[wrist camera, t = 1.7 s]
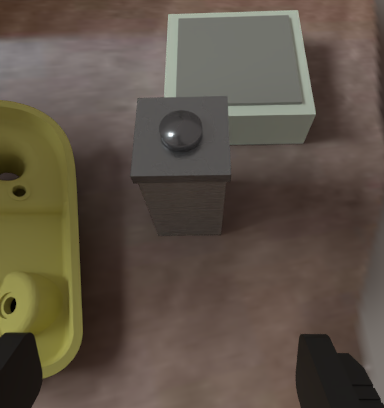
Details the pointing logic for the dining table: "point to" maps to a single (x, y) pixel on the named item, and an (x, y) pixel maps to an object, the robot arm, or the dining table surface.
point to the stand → (244, 71)
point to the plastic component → (39, 235)
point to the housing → (182, 162)
